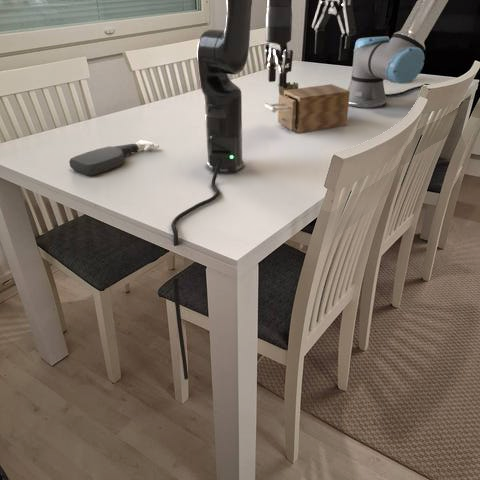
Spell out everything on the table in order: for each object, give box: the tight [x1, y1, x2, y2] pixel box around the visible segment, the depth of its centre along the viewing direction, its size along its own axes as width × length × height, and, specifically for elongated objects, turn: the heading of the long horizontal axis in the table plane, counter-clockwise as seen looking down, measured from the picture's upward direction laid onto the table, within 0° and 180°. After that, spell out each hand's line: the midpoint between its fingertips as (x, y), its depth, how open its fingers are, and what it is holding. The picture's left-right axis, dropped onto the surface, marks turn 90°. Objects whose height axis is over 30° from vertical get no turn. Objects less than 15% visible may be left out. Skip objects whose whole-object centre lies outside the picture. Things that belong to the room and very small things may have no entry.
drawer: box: [264, 94, 299, 131], centre depth 144 cm, size 23×9×9 cm, turn 113°
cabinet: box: [284, 83, 350, 134], centre depth 146 cm, size 18×11×11 cm, turn 113°
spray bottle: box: [68, 139, 160, 177], centre depth 124 cm, size 3×11×24 cm
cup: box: [277, 81, 300, 96], centre depth 166 cm, size 8×7×8 cm
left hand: (277, 83), depth 136 cm, fingers open, 6 cm apart
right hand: (330, 56), depth 139 cm, fingers open, 13 cm apart
